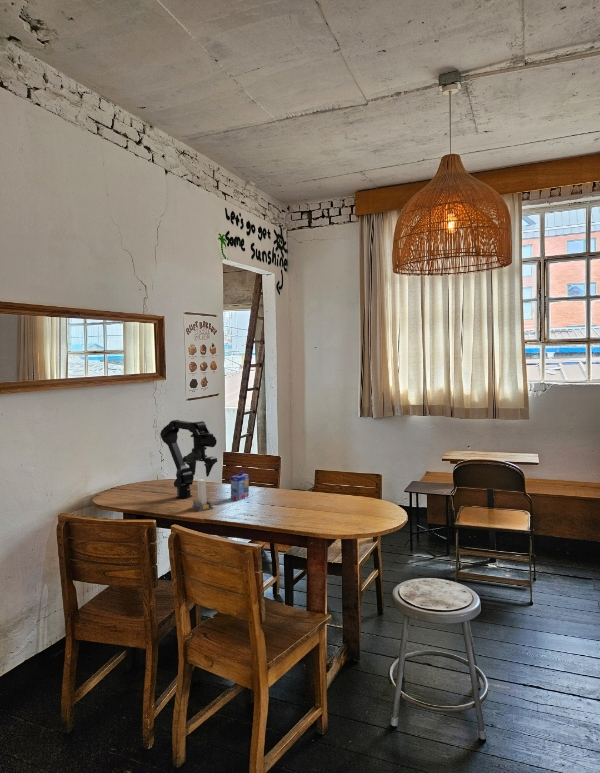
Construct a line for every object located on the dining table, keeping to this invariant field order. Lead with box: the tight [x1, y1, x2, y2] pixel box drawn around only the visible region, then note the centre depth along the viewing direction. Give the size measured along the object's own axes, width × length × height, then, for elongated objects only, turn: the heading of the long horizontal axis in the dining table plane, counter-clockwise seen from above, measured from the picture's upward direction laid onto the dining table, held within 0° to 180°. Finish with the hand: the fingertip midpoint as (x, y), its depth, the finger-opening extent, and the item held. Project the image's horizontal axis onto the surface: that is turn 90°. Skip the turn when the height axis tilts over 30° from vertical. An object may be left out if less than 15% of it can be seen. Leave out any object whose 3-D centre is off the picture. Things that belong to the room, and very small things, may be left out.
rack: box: [192, 499, 214, 512], centre depth 258 cm, size 9×7×3 cm
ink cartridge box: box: [230, 470, 250, 501], centre depth 275 cm, size 10×6×14 cm, turn 152°
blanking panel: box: [196, 478, 208, 505], centre depth 258 cm, size 5×2×13 cm, turn 32°
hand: (200, 475), depth 272 cm, fingers open, 9 cm apart
